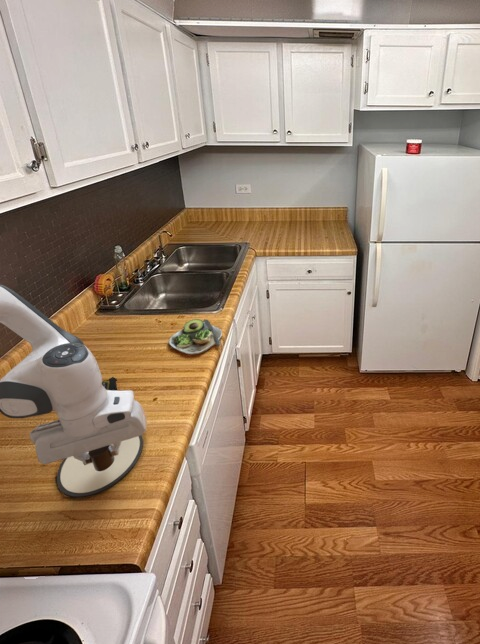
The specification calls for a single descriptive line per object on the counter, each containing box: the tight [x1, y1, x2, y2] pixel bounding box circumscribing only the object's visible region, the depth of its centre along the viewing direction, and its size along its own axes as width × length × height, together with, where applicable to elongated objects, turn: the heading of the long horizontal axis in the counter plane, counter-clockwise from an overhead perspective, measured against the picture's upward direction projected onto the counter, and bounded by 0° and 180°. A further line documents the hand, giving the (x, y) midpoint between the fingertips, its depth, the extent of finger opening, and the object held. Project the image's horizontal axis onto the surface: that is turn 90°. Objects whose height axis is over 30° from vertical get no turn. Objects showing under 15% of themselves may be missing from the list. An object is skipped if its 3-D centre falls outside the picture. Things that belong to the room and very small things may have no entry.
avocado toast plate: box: [168, 318, 223, 355], centre depth 122 cm, size 19×18×5 cm
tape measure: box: [102, 377, 119, 391], centre depth 98 cm, size 7×7×4 cm
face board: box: [56, 435, 144, 499], centre depth 81 cm, size 18×18×1 cm
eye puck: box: [89, 445, 115, 471], centre depth 75 cm, size 4×4×5 cm
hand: (102, 457), depth 75 cm, fingers closed on eye puck, 4 cm apart
